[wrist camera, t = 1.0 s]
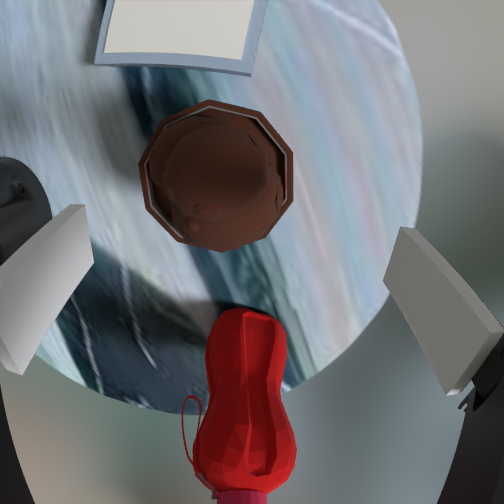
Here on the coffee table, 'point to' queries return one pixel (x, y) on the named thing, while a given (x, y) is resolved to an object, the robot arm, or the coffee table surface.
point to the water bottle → (244, 410)
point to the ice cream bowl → (217, 176)
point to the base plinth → (182, 34)
